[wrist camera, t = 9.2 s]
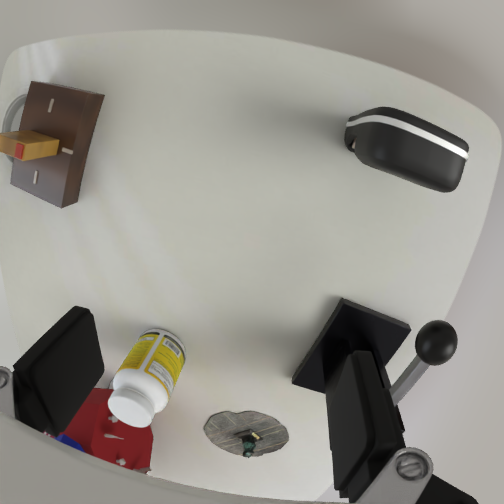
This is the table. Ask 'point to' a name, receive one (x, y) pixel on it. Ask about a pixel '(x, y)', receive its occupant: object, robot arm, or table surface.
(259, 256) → the table surface
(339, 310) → the bracket
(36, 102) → the plate
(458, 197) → the table surface
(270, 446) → the sculpture
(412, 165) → the battery charger
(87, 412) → the alarm clock
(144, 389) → the pill bottle
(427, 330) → the latch lever
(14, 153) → the thumbturn
